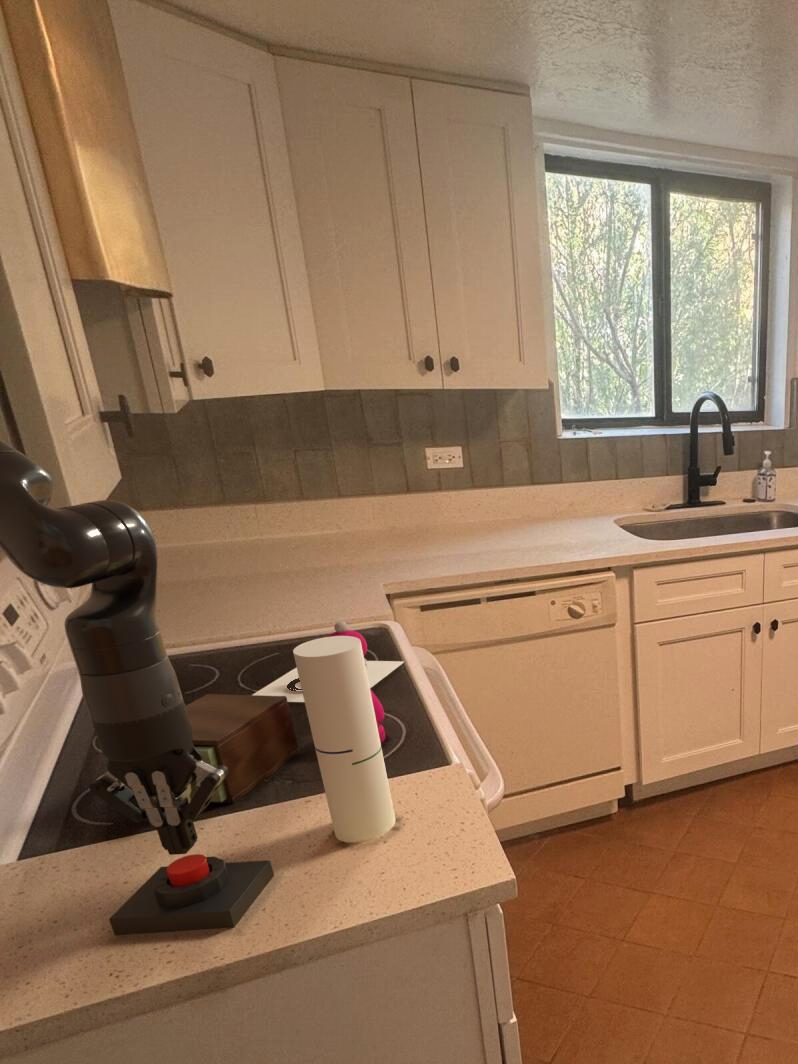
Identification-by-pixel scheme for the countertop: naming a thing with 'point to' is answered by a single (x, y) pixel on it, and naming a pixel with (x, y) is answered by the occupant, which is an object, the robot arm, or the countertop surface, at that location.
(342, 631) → the pepper mill
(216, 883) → the control block
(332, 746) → the cylindrical container
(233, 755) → the cabinet
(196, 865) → the button
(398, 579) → the countertop surface
